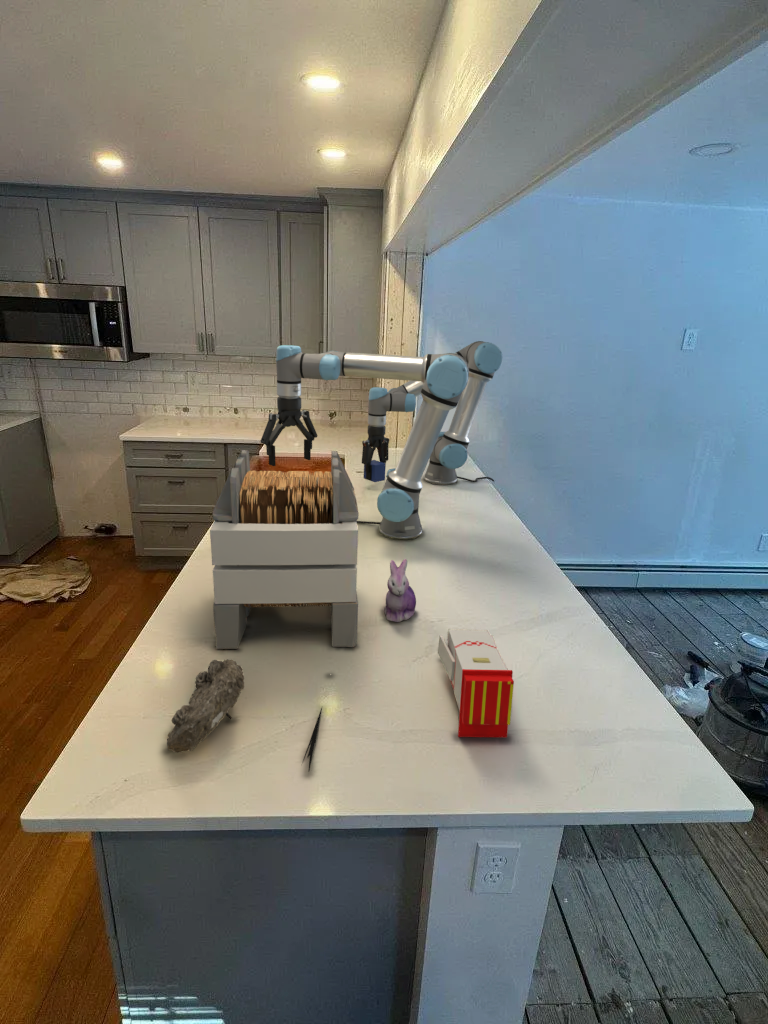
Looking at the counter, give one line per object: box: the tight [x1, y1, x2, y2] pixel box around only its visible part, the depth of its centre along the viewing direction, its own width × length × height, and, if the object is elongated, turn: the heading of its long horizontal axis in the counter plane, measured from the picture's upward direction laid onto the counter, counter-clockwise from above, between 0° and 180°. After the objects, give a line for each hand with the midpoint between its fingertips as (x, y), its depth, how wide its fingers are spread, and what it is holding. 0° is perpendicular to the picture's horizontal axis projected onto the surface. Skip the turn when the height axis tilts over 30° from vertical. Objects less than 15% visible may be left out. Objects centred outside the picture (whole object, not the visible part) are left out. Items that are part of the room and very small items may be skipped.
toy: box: [437, 628, 515, 738], centre depth 117 cm, size 12×13×30 cm
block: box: [363, 459, 387, 483], centre depth 244 cm, size 6×7×8 cm
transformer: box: [209, 449, 360, 651], centre depth 139 cm, size 34×33×41 cm
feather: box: [301, 673, 332, 771], centre depth 108 cm, size 2×28×2 cm
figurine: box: [384, 558, 417, 623], centre depth 145 cm, size 9×10×15 cm
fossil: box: [166, 658, 245, 754], centre depth 106 cm, size 22×10×15 cm
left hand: (290, 462), depth 185 cm, fingers open, 13 cm apart
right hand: (374, 478), depth 245 cm, fingers closed on block, 6 cm apart
